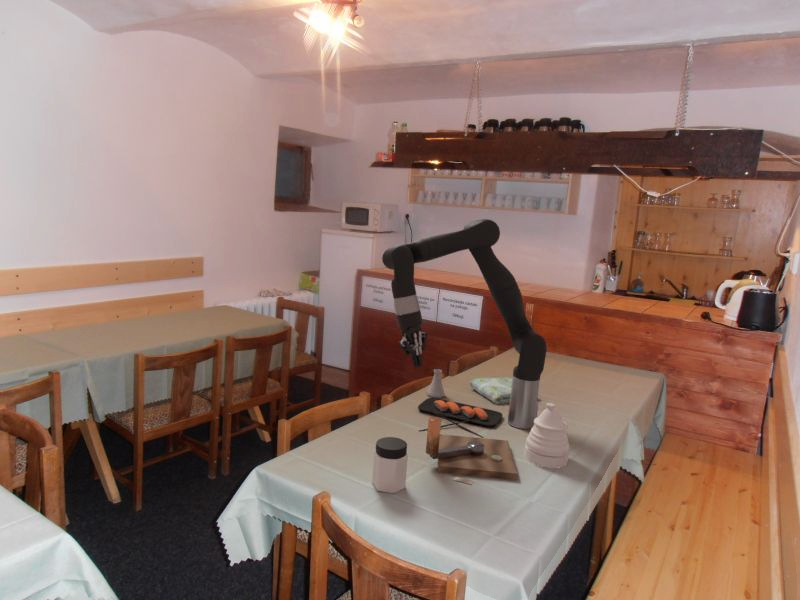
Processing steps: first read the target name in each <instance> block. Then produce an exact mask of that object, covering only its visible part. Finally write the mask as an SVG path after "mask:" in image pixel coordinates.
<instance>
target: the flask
mask: <svg viewBox="0 0 800 600" xmlns="http://www.w3.org/2000/svg"><path fill="white" fill-rule="evenodd" d="M433 372H434V373H433V378H432V381H431V383H430V385H429V387H428V389H427V392H426V394H427V396H428V397H430V398H439V399H442V398H443V397H445V396H446V395H445V390H444V386H443V383H442V373H443V371H442V369H438V368H437V369H435V368H434V369H433Z"/></svg>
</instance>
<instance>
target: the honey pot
mask: <svg viewBox="0 0 800 600" xmlns="http://www.w3.org/2000/svg"><path fill="white" fill-rule="evenodd" d="M545 404H546V405H545V406H546V408H545V409H544V410H543V411H541V413H540V415H539V416H537V418H535V419H534V426H533V427H532V428H530V432H529V434H528V436H526V439H525V447H524V454H525V455H524V458H525V460H526V461H528V460H529V461H530V462H529V461H528V462H529V463H531V462H532V463H531V464H533V463H534V464H533V465H535V464H536V465H535V466H537V465H539V466H538V467H540V466H543V467H542V468H544V467H548V468H547V469H555V468H556V469H559V468H558V467H562V468H564V467H563V466H565V465H566V464H568V463H567V462H569V455H570V444H569V443H570V442H569V439H568V433H567V432H566V430H567V429H568V423H567V422H566V421H564V420H563V416H562V415H561V413H560V411H559V410H558V409H557V408H556V404H555V403H552V402H547V403H545ZM566 466H567V465H566ZM566 466H565V467H566Z"/></svg>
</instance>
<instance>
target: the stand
mask: <svg viewBox="0 0 800 600" xmlns="http://www.w3.org/2000/svg"><path fill="white" fill-rule="evenodd" d="M472 441H476V442H480V443H482V444H484V453H483V454H481V455H473V454H470V453H469V454H463V455H457V456H451V457H444V458H438V459H437V473H439V474H440V473H442V474H449V475H450V474H452V475H461V476H471V477H478V478H479V477H482V478H490V479H499V478H500V480H510V481H511V480H513V481H517V477H518V472H517V468H516V464H515V461H514V457H513V453H512V449H511V447H510V443H509V440H504V439H493V438H485V437H484V438H482V437H474V436H463V435H453V434H445V433H444V434H443V433H440V440H439V449H445V448H451V447H458V446H465V445H468V443H469V442H472ZM453 481H454V482H459V483H463V484H467V485H471V486H472V485H473V483H474V480H473V479H467V478H462V477H458V476H455V477H454V479H453Z"/></svg>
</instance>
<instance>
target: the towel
mask: <svg viewBox="0 0 800 600" xmlns="http://www.w3.org/2000/svg"><path fill="white" fill-rule="evenodd" d="M512 378H513V377H508V376H505V377H475V378H474V379H471V381H470V383H469V384H470V387H471V388H472V389H473V390H475V391H476V392H477V393H479V395H481V396H483V397H485V398H486V399H487V400H489V401H491V402H492V403H493V404H495V405H501V404H510V396H511V387H512Z"/></svg>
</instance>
